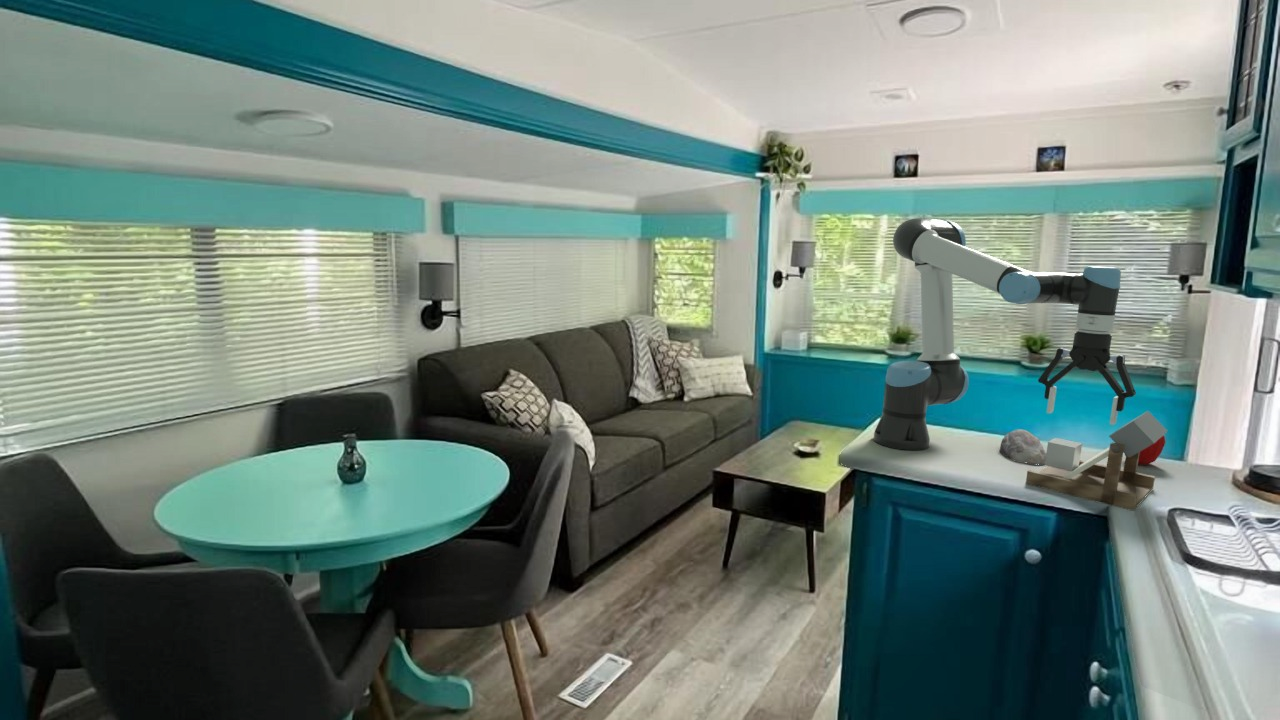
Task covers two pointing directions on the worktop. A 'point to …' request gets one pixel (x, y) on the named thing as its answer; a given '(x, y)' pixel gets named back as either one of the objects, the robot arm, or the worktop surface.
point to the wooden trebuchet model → (1100, 480)
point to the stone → (1023, 447)
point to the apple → (1151, 452)
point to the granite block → (1063, 454)
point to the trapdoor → (1129, 439)
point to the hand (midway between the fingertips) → (1080, 418)
